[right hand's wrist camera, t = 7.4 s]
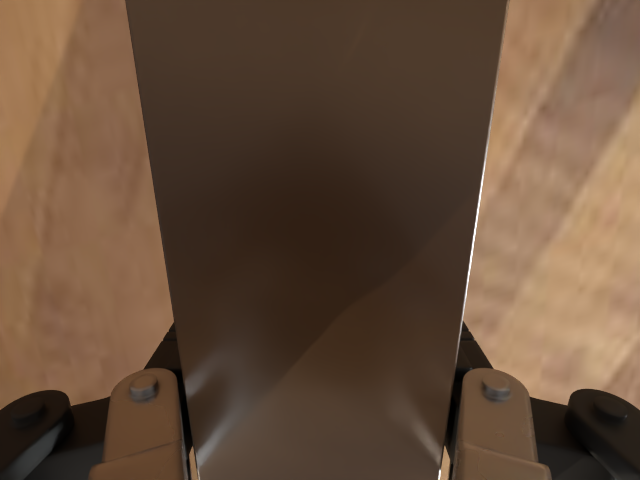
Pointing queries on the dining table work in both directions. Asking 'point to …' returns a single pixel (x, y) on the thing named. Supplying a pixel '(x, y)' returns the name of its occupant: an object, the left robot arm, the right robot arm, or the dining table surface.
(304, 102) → the bar
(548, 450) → the right robot arm
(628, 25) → the dining table surface
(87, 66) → the dining table surface
